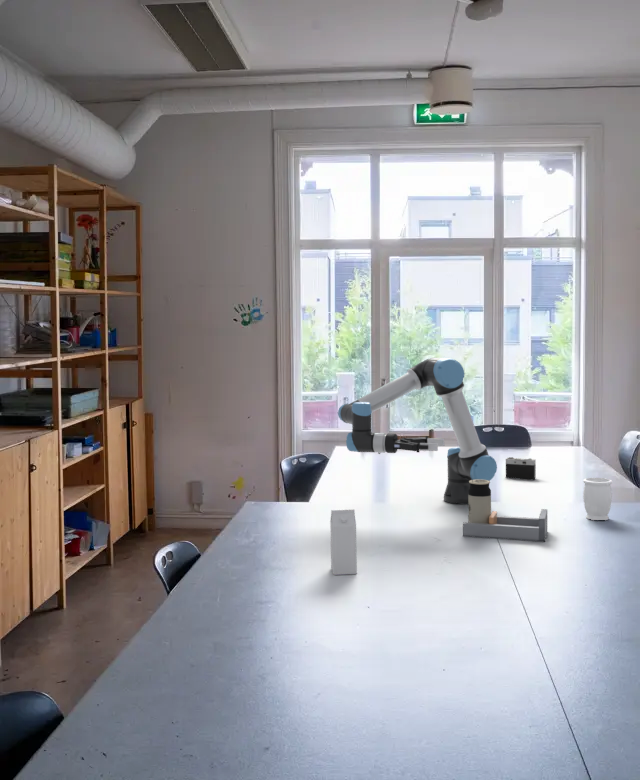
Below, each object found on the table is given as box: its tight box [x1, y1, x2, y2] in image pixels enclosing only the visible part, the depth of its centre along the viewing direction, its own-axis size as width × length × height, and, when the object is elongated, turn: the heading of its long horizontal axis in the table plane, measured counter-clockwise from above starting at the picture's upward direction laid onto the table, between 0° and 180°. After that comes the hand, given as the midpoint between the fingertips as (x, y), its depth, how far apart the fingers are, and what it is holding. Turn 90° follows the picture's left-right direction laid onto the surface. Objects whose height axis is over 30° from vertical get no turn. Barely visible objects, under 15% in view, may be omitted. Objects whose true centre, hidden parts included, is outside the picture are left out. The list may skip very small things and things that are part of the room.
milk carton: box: [329, 509, 358, 576], centre depth 238 cm, size 7×7×19 cm
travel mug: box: [467, 479, 492, 524], centre depth 282 cm, size 8×8×18 cm
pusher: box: [489, 510, 498, 524], centre depth 281 cm, size 10×2×6 cm, turn 161°
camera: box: [505, 457, 537, 481], centre depth 386 cm, size 14×8×10 cm, turn 62°
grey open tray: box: [462, 508, 548, 543], centre depth 279 cm, size 15×28×8 cm, turn 71°
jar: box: [582, 477, 613, 521], centre depth 299 cm, size 11×10×15 cm
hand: (441, 444), depth 295 cm, fingers open, 13 cm apart
